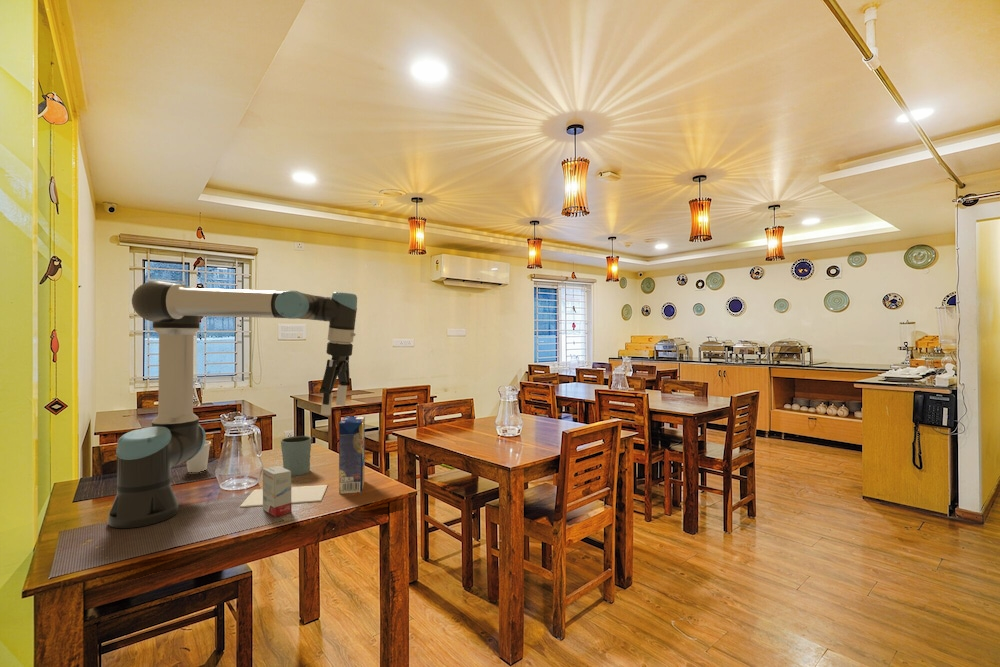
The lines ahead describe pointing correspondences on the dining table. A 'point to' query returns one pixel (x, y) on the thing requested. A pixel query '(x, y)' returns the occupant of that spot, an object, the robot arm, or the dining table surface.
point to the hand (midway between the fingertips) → (333, 409)
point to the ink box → (277, 490)
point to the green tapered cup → (296, 454)
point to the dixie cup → (199, 459)
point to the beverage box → (351, 454)
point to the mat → (297, 495)
